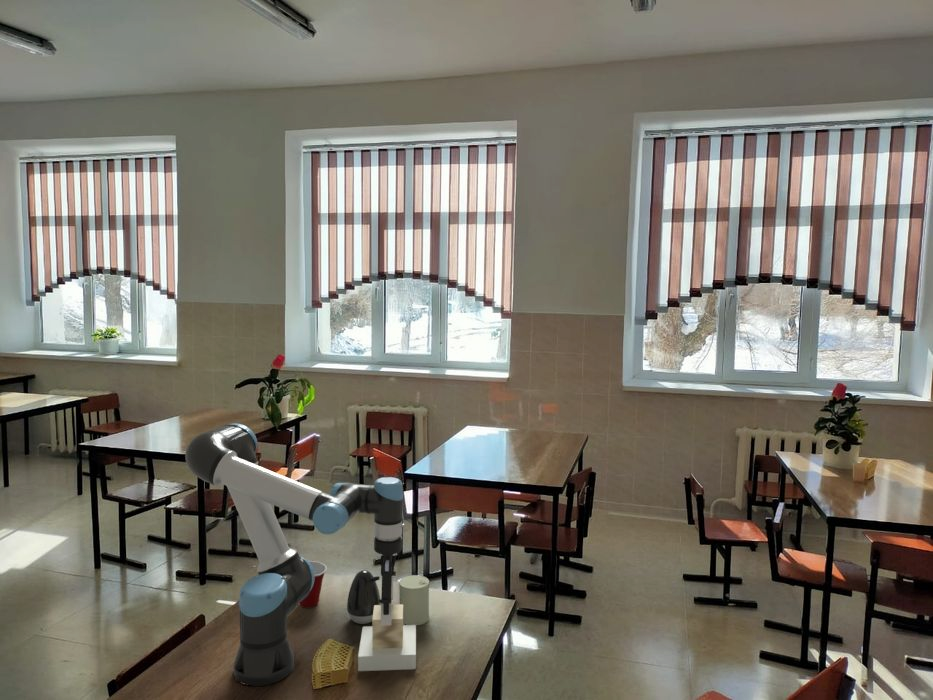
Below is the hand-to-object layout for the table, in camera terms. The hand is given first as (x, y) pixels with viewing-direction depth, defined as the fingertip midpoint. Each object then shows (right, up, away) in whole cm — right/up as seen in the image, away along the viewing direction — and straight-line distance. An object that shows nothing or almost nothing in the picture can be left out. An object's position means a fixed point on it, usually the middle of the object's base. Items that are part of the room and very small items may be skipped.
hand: (387, 611), depth 173 cm
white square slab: (0, -12, +1) cm, 12 cm away
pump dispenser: (-9, -11, +19) cm, 24 cm away
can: (+6, -11, +20) cm, 24 cm away
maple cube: (0, -8, +1) cm, 8 cm away
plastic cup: (-28, -9, +29) cm, 41 cm away
